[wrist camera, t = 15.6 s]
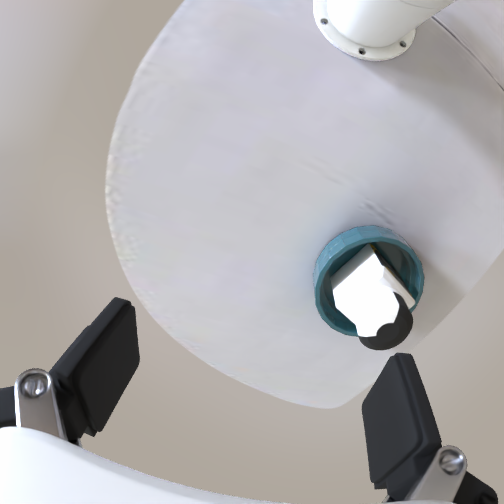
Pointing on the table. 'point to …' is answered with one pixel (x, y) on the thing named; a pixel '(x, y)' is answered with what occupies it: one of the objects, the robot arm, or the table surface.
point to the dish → (346, 249)
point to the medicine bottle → (374, 299)
